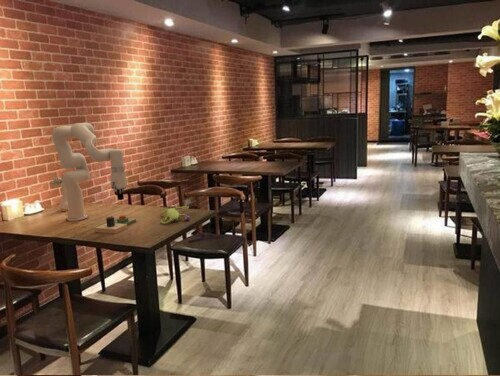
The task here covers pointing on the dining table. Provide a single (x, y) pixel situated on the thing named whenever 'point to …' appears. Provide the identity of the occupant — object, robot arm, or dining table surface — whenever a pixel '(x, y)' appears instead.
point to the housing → (125, 221)
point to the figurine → (174, 214)
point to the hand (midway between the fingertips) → (120, 199)
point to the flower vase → (64, 202)
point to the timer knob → (110, 221)
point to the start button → (122, 217)
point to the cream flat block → (111, 228)
